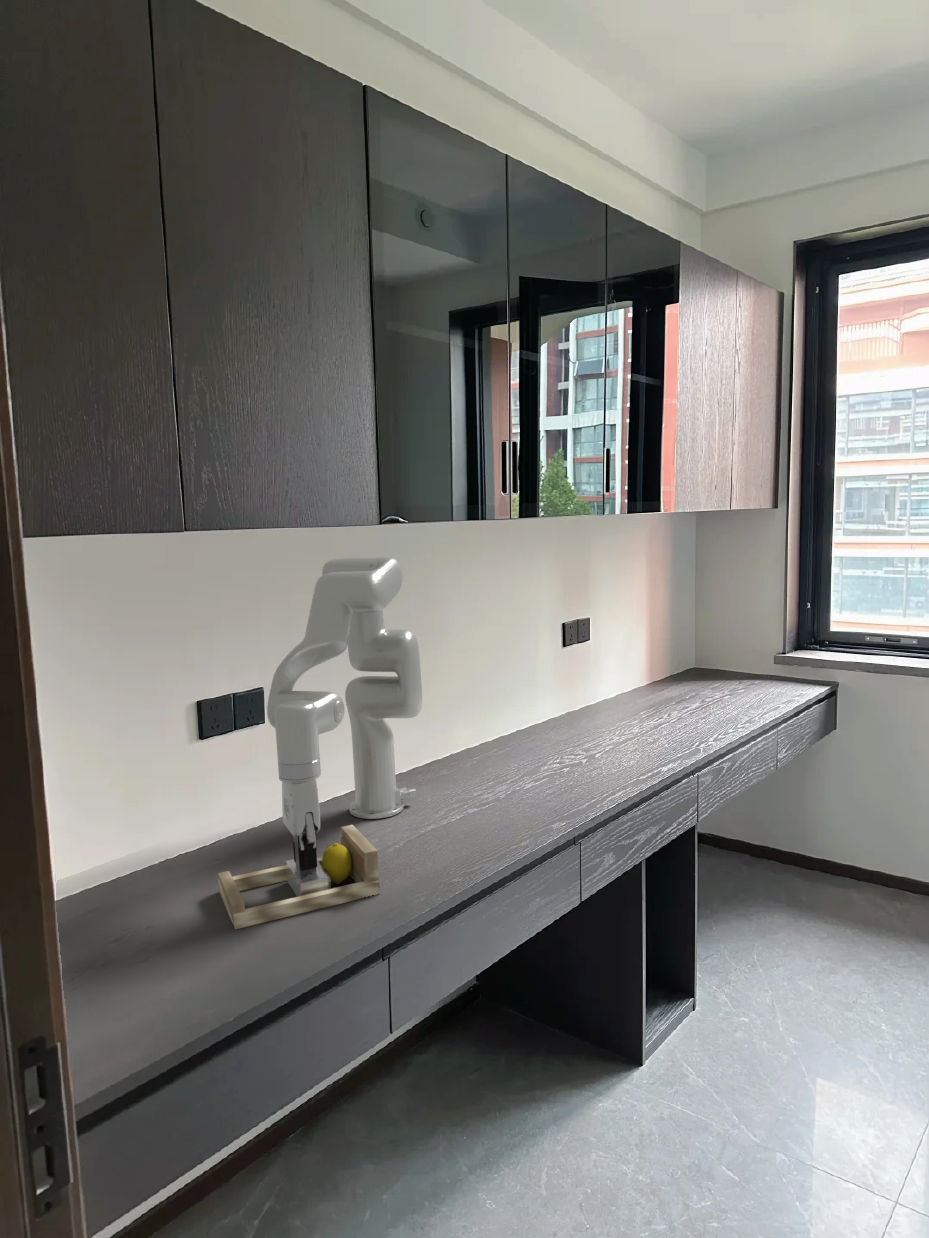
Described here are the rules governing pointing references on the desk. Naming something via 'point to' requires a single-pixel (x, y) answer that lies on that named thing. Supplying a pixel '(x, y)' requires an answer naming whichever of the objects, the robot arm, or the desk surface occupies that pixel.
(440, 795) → the desk surface
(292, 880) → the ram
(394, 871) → the desk surface
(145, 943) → the desk surface
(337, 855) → the lemon
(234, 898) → the press frame
